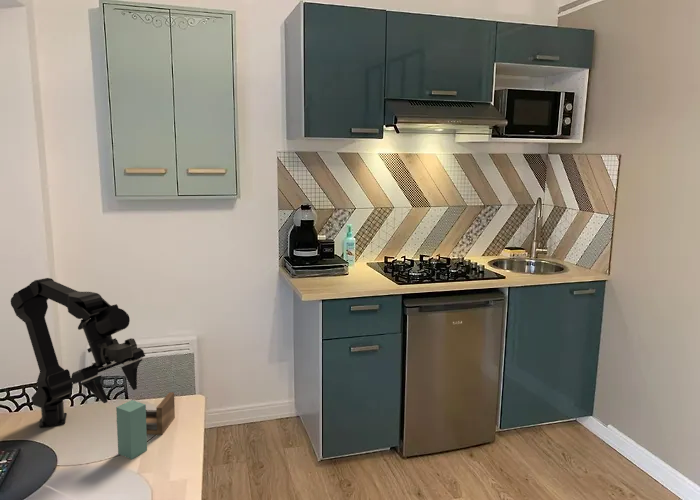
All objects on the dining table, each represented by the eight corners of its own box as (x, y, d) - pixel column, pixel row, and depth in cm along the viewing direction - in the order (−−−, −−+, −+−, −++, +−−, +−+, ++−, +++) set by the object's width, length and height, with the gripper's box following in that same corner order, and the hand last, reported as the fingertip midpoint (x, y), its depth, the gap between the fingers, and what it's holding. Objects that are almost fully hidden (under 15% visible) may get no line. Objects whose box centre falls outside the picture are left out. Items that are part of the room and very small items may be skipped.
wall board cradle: (130, 433, 152) (129, 406, 150) (144, 416, 161) (144, 391, 160) (162, 434, 151) (161, 408, 150) (174, 417, 161) (174, 392, 160)
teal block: (118, 453, 141) (116, 407, 139) (133, 445, 146) (132, 399, 143) (131, 459, 139) (130, 412, 137) (147, 450, 143) (145, 404, 141)
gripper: (86, 342, 130) (108, 403, 129) (147, 322, 147) (167, 376, 146) (60, 353, 136) (82, 412, 135) (122, 333, 152) (142, 385, 151)
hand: (120, 395), depth 141 cm, fingers open, 9 cm apart
